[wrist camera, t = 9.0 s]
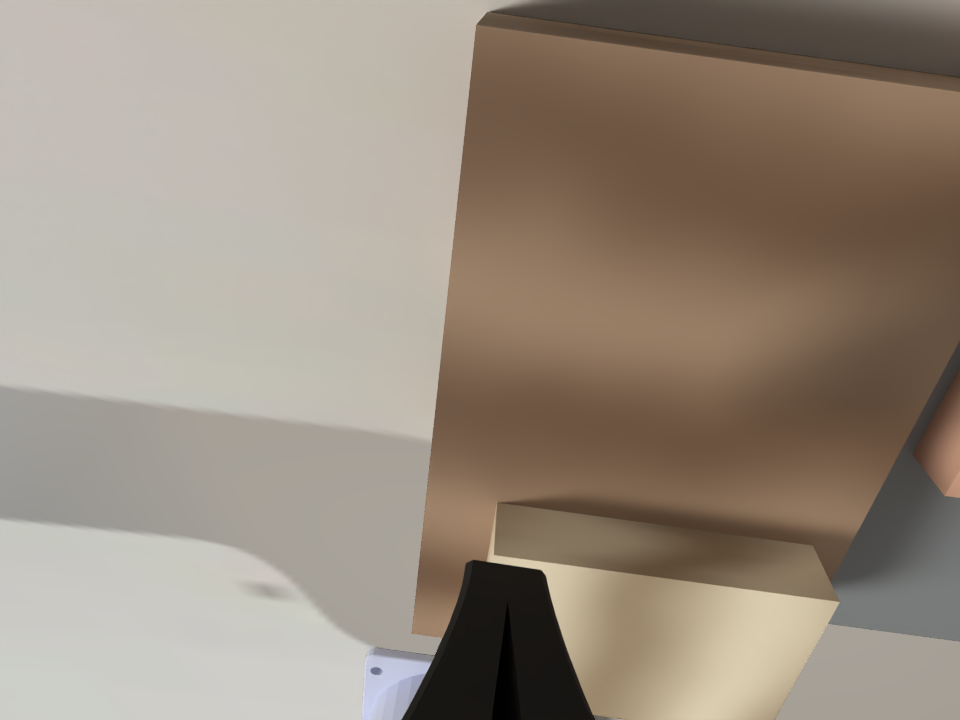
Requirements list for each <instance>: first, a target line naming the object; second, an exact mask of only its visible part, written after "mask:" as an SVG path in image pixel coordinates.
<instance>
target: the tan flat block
mask: <svg viewBox="0 0 960 720" xmlns="http://www.w3.org/2000/svg"><path fill="white" fill-rule="evenodd" d="M959 341H960V77H952V76H945V75H938V74H931V73H924V72H916V71H909V70H902V69H895V68H888V67H880V66H873V65H866V64H859V63H852V62H844V61H837V60H830V59H823V58H816V57H808V56H801V55H794V54H787V53H780V52H772V51H765V50H758V49H751V48H744V47H736V46H729V45H722V44H715V43H708V42H700V41H693V40H686V39H679V38H672V37H664V36H657V35H650V34H643V33H636V32H628V31H621V30H614V29H607V28H600V27H592V26H585V25H578V24H571V23H564V22H556V21H549V20H542V19H535V18H528V17H520V16H513V15H506V14H499V13H492V12H487V13H486V14H485V16H484V17H483V18H482V19H481V20H480V21H479V22H478V24H477V25H476V33H475V43H474V52H473V61H472V71H471V80H470V90H469V99H468V108H467V118H466V127H465V137H464V146H463V155H462V165H461V174H460V184H459V193H458V202H457V212H456V221H455V231H454V240H453V250H452V259H451V268H450V278H449V287H448V297H447V306H446V315H445V325H444V334H443V344H442V353H441V362H440V372H439V381H438V391H437V400H436V410H435V419H434V428H433V438H432V447H431V457H430V466H429V475H428V485H427V494H426V504H425V514H424V522H423V532H422V541H421V551H420V561H419V570H418V579H417V588H416V598H415V607H414V617H413V626H412V634H420V635H426V636H433V637H441V638H443V636H444V634H445V631H446V629H447V627H448V624H449V622H450V619H451V616H452V614H453V611H454V608H455V606H456V603H457V600H458V597H459V593H460V590H461V586H462V581H463V576H464V570H465V564H466V563H467V562H469V561H471V560H479V561H486V562H487V557H488V551H489V545H490V540H491V534H492V528H493V522H494V517H495V511H496V505H497V503H504V504H511V505H518V506H526V507H533V508H540V509H548V510H555V511H563V512H570V513H577V514H585V515H592V516H599V517H607V518H614V519H621V520H629V521H636V522H644V523H651V524H658V525H666V526H673V527H680V528H688V529H695V530H702V531H710V532H717V533H725V534H732V535H739V536H747V537H754V538H761V539H769V540H776V541H783V542H791V543H798V544H806V545H813V547H814V549H815V551H816V553H817V555H818V557H819V560H820V562H821V564H822V566H823V568H824V570H825V572H826V574H827V576H828V578H829V580H830V582H831V581H832V579H833V577H834V575H835V573H836V571H837V569H838V567H839V566H840V564H841V562H842V560H843V558H844V556H845V554H846V553H847V551H848V549H849V547H850V545H851V543H852V541H853V539H854V538H855V536H856V534H857V532H858V530H859V528H860V526H861V524H862V523H863V521H864V519H865V517H866V515H867V513H868V511H869V509H870V508H871V506H872V504H873V502H874V500H875V498H876V496H877V494H878V493H879V491H880V489H881V487H882V485H883V483H884V481H885V480H886V478H887V476H888V474H889V472H890V470H891V468H892V466H893V465H894V463H895V461H896V459H897V457H898V455H899V453H900V451H901V450H902V448H903V446H904V444H905V442H906V440H907V438H908V436H909V435H910V433H911V431H912V429H913V427H914V425H915V423H916V421H917V420H918V418H919V416H920V414H921V412H922V410H923V408H924V407H925V405H926V403H927V401H928V399H929V397H930V395H931V393H932V392H933V390H934V388H935V386H936V384H937V382H938V380H939V378H940V377H941V375H942V373H943V371H944V369H945V367H946V365H947V363H948V362H949V360H950V358H951V356H952V354H953V352H954V350H955V348H956V347H957V345H958V343H959Z"/></svg>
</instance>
